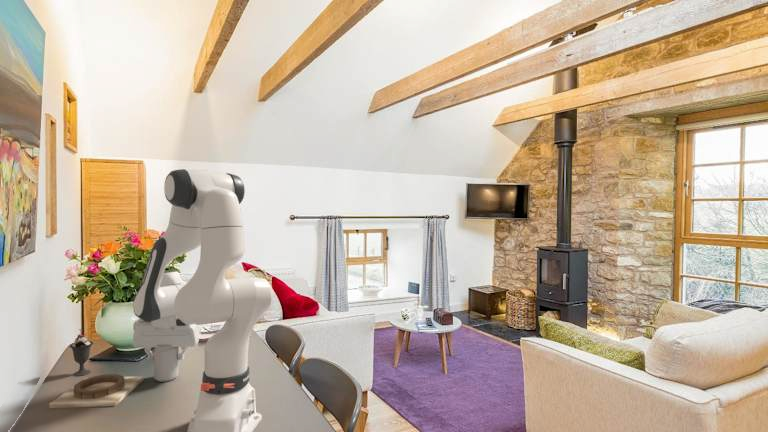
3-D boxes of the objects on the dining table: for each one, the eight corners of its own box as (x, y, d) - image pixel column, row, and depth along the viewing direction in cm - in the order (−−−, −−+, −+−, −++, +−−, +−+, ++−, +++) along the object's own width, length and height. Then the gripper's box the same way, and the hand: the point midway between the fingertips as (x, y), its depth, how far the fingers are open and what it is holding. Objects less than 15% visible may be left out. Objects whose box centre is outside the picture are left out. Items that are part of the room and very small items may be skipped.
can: (148, 380, 144) (148, 344, 144) (167, 372, 151) (167, 338, 151) (165, 384, 142) (165, 348, 141) (183, 375, 148) (183, 341, 148)
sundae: (82, 368, 153) (81, 326, 152) (98, 370, 152) (97, 327, 151) (64, 376, 147) (64, 332, 146) (81, 378, 145) (80, 333, 145)
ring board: (115, 405, 127) (115, 395, 127) (49, 408, 125) (49, 397, 125) (143, 379, 145) (143, 370, 144) (85, 381, 143) (85, 371, 143)
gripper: (128, 321, 141) (129, 363, 142) (194, 321, 143) (194, 362, 144) (137, 316, 148) (138, 356, 148) (200, 315, 150) (200, 355, 150)
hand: (166, 359), depth 146 cm, fingers open, 8 cm apart
